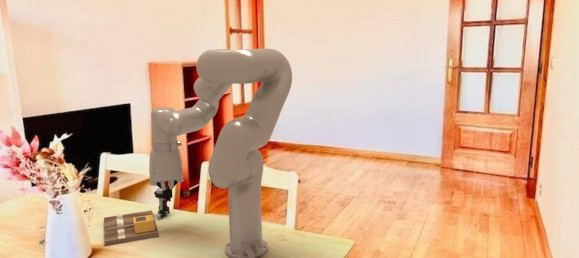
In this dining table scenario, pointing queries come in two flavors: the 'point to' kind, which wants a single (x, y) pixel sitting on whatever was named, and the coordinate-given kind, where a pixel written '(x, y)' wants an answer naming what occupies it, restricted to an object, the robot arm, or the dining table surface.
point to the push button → (161, 204)
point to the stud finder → (143, 224)
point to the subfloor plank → (125, 229)
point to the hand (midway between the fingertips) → (167, 200)
